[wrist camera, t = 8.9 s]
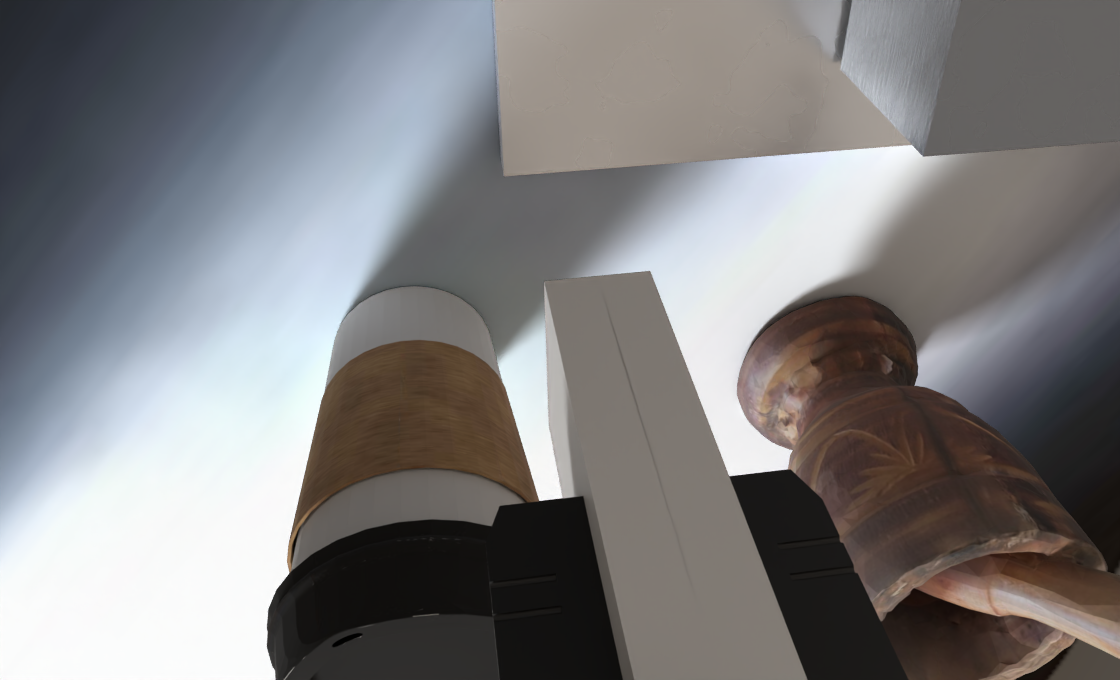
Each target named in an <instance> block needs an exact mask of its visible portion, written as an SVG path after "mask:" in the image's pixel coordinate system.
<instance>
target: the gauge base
mask: <svg viewBox="0 0 1120 680" xmlns="http://www.w3.org/2000/svg"><path fill="white" fill-rule="evenodd" d="M851 4H852V0H492V11H493V29H494V48H495V66H496V84H497V102H498V120H499V138H500V156H501V164H502V169H503V174H504V176H517V175H530V174H542V173H555V172H568V171H581V170H594V169H607V168H619V167H632V166H645V165H658V164H671V163H684V162H697V161H709V160H722V159H735V158H748V157H761V156H774V155H787V154H799V153H812V152H825V151H838V150H851V149H864V148H876V147H889V146H902V145H912V144H911V143H910V142H909V141H908V140H907V139H906V138H905V137H904V136H903V135H902V134H901V133H900V132H899V131H898V129H897V128H896V127H895V126H894V125H893V124H892V123H891V122H890V121H889V120H888V119H887V118H886V117H885V116H884V115H883V114H882V113H881V112H880V111H879V110H878V108H877V107H876V106H875V105H874V104H873V103H872V102H871V101H870V100H869V99H868V98H867V97H866V96H865V95H864V94H863V93H862V92H861V91H860V90H859V88H858V87H857V86H856V85H855V84H854V83H853V82H852V81H851V80H850V79H849V78H848V77H847V76H846V75H845V74H844V73H843V72H842V71H841V70H840V67H841V62H842V56H843V50H844V44H845V39H846V33H847V27H848V21H849V16H850V10H851Z"/></svg>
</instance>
